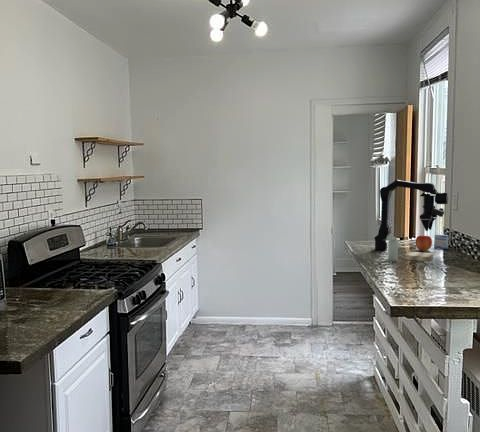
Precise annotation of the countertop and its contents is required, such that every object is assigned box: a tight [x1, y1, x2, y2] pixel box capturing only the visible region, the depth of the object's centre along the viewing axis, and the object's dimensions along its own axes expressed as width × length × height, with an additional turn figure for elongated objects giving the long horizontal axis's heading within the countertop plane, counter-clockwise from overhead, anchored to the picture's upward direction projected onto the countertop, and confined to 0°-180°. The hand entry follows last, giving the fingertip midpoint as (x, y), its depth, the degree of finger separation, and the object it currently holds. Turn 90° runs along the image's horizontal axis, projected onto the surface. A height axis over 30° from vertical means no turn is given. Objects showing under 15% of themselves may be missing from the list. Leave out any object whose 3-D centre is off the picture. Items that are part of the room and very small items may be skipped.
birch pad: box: [404, 251, 434, 262], centre depth 270 cm, size 13×13×2 cm
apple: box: [415, 235, 433, 252], centre depth 294 cm, size 10×10×10 cm
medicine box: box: [433, 234, 449, 250], centre depth 304 cm, size 8×4×9 cm, turn 62°
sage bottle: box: [387, 236, 399, 262], centre depth 265 cm, size 5×5×13 cm
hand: (428, 230), depth 281 cm, fingers open, 9 cm apart
